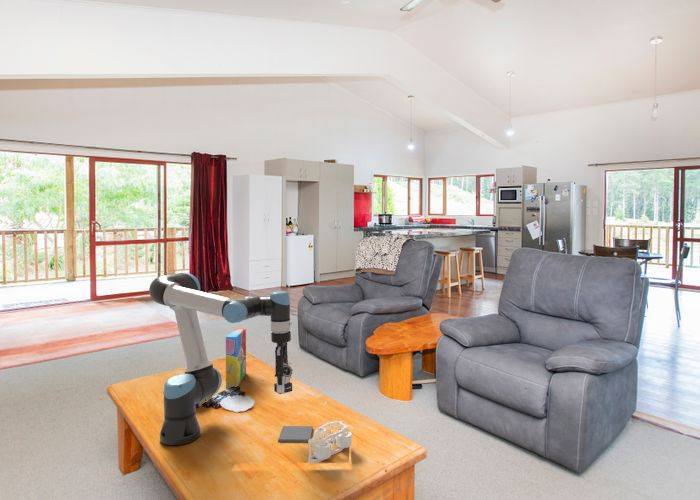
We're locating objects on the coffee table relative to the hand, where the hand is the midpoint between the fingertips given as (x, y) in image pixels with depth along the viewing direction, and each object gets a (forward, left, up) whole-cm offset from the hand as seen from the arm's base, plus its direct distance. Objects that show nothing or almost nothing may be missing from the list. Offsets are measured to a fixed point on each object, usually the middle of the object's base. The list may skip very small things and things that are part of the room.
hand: (282, 389), depth 180 cm
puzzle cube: (-46, +33, -18) cm, 60 cm away
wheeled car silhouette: (+19, -14, -18) cm, 30 cm away
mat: (+5, -1, -18) cm, 19 cm away
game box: (-34, +60, -18) cm, 71 cm away
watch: (0, 0, -1) cm, 1 cm away
